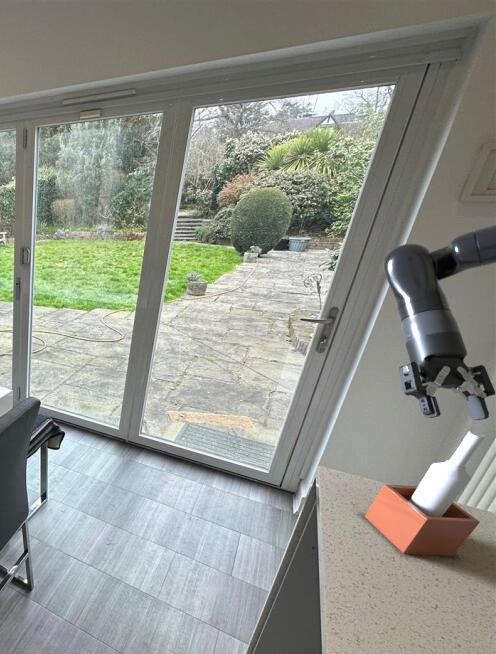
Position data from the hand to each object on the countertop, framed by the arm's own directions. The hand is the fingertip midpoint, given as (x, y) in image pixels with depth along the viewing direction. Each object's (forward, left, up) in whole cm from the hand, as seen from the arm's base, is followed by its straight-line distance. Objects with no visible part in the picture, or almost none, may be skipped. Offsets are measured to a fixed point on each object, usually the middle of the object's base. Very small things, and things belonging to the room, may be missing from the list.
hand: (457, 418), depth 75 cm
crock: (0, +4, -26) cm, 26 cm away
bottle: (0, +4, -26) cm, 26 cm away
